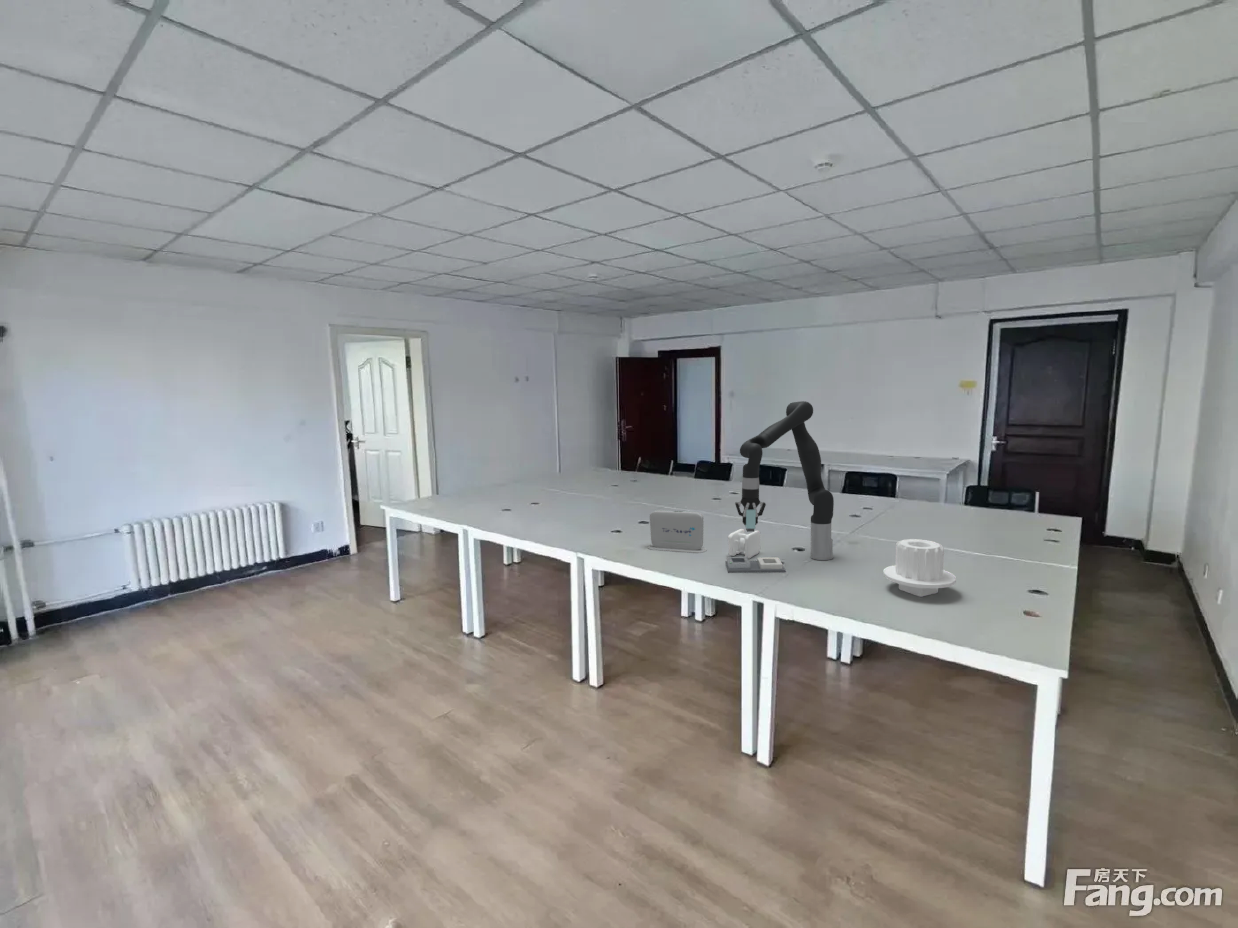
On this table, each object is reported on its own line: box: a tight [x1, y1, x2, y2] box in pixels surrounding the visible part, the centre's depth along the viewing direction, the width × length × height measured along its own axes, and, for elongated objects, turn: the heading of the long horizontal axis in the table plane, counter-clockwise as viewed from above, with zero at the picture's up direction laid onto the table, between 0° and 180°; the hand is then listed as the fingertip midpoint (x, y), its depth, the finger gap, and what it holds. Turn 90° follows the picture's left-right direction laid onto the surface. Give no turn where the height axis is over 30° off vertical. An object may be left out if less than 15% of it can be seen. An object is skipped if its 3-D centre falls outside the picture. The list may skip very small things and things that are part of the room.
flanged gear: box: [882, 538, 957, 598], centre depth 220 cm, size 25×25×19 cm
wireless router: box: [647, 509, 708, 554], centre depth 292 cm, size 31×10×20 cm, turn 68°
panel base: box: [724, 560, 786, 574], centre depth 258 cm, size 25×14×1 cm, turn 84°
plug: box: [744, 509, 757, 533], centre depth 255 cm, size 4×5×10 cm
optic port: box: [726, 556, 750, 569], centre depth 259 cm, size 10×10×3 cm
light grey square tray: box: [756, 557, 783, 569], centre depth 257 cm, size 10×10×2 cm
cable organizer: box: [727, 528, 761, 560], centre depth 278 cm, size 15×11×12 cm
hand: (750, 524), depth 256 cm, fingers closed on plug, 4 cm apart
